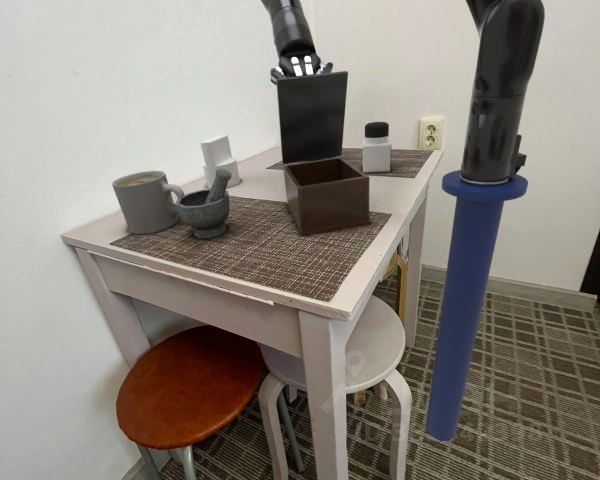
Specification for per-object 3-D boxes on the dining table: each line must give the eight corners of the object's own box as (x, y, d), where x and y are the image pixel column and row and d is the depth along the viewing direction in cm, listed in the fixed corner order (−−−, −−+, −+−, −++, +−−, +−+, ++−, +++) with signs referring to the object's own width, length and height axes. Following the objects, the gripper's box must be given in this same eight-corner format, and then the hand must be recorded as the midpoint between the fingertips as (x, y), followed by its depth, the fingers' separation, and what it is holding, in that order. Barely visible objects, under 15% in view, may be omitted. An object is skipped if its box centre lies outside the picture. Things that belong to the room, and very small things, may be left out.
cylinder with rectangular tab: (218, 177, 96) (209, 135, 90) (245, 178, 93) (238, 134, 87) (200, 188, 89) (189, 143, 83) (229, 189, 86) (220, 142, 80)
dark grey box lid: (348, 72, 57) (346, 70, 57) (276, 80, 55) (276, 78, 56) (341, 155, 69) (340, 153, 69) (282, 164, 67) (282, 162, 68)
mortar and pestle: (176, 243, 60) (156, 180, 55) (196, 221, 68) (181, 164, 63) (234, 241, 59) (220, 176, 53) (248, 219, 67) (237, 161, 61)
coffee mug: (118, 232, 67) (100, 185, 63) (152, 212, 75) (138, 170, 71) (170, 237, 63) (154, 187, 58) (200, 216, 71) (189, 170, 66)
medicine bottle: (390, 171, 86) (392, 123, 80) (362, 173, 87) (362, 126, 81) (388, 164, 92) (390, 119, 86) (362, 165, 93) (362, 121, 87)
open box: (369, 223, 60) (369, 176, 56) (302, 235, 58) (297, 188, 54) (342, 195, 74) (341, 156, 69) (287, 204, 72) (282, 165, 68)
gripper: (259, 25, 62) (276, 99, 57) (327, 19, 64) (349, 90, 59) (261, 58, 69) (276, 126, 64) (322, 52, 71) (341, 118, 66)
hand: (311, 109), depth 61 cm, fingers closed
